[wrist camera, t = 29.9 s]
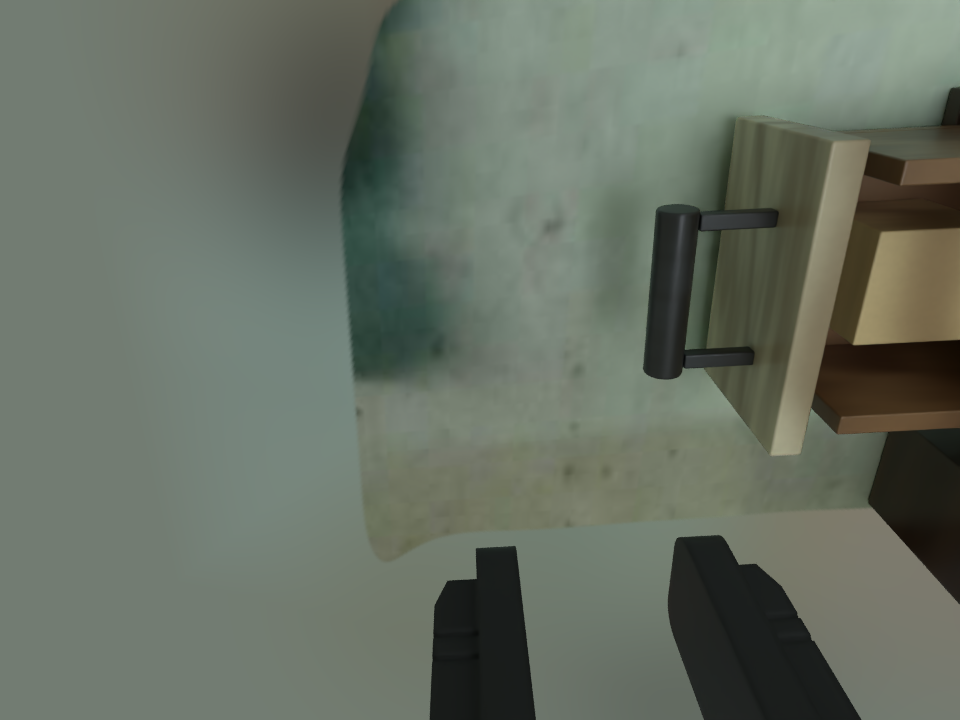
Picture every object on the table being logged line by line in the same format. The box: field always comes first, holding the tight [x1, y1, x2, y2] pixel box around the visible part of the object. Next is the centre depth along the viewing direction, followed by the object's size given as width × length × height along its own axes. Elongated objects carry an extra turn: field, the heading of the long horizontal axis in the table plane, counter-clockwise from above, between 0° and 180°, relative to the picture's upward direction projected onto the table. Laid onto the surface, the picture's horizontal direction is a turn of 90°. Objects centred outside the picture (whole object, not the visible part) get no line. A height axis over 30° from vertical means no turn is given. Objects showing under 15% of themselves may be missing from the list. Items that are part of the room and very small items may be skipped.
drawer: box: [643, 116, 960, 456], centre depth 24 cm, size 18×11×7 cm, turn 93°
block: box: [829, 199, 960, 345], centre depth 25 cm, size 4×4×4 cm
